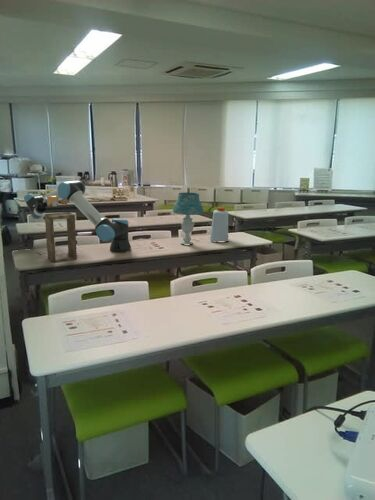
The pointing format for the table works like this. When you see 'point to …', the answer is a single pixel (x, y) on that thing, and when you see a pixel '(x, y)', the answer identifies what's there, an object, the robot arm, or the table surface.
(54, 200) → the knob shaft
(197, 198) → the table lamp
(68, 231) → the stand
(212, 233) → the plastic bottle
